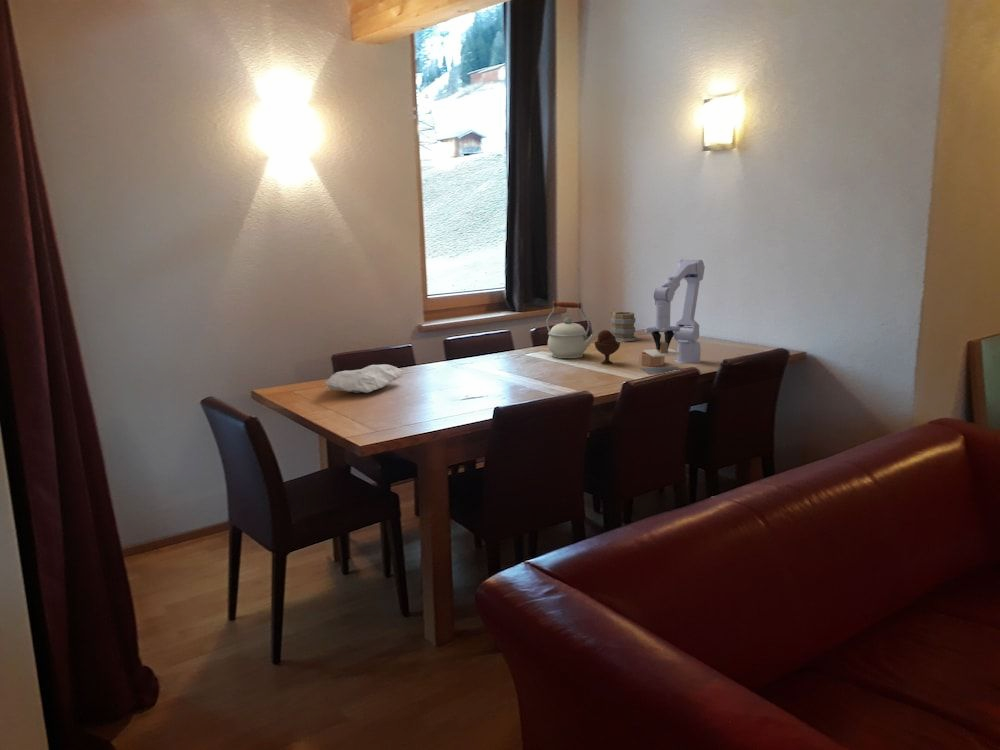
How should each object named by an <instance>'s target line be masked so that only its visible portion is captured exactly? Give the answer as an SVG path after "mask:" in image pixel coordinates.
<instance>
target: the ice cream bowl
mask: <svg viewBox="0 0 1000 750" xmlns="http://www.w3.org/2000/svg"><path fill="white" fill-rule="evenodd" d="M594 346H595V349H596V350H597V351H598V352H599V353H601V354H602V355H604V360H602V361H601V362H600V365H601V364H602V365H612V364H614V362H612V361H611V360H610V355H613V354H614V353H615V352H617V351H618V350H619V349H620V346H621V342H618V341H616V338H615V336H614V335H612V332H611V330H610V331H609V329H607V330H606V329H603V330H601V331H600V332H599V333H598V334H597V341H595V342H594Z"/></svg>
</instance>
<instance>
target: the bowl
mask: <svg viewBox="0 0 1000 750" xmlns="http://www.w3.org/2000/svg"><path fill="white" fill-rule="evenodd" d="M665 357H666V356H659V357H653V356H651V355H649V354H647V353H645V352H644V351H643V350H642V351H641V352H638V363H639V365H640V366H644V367H661V366H664V365H665Z"/></svg>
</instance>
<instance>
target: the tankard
mask: <svg viewBox="0 0 1000 750" xmlns="http://www.w3.org/2000/svg"><path fill="white" fill-rule="evenodd" d="M609 312H610V314H612V317H611V318H610V323H611V328H610V332H611V333H612V335H614V336H615V338H616V341H622V342H621V343H623V342H624V343H628V342H627V341H633V342H635V340H636V341H637V336H635V333H636V327H635V323H636V317H635V313H634V312H631V311H616V310H615V308H611V309H610V310H609Z"/></svg>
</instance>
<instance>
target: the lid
mask: <svg viewBox="0 0 1000 750" xmlns="http://www.w3.org/2000/svg"><path fill="white" fill-rule="evenodd" d="M643 351H644V352H645V353H647V354H649V355H651V356H653V357H659V356H665V357H675V356H676V357H677V356H678V355H682V354H681V353H679V352H677V350H674V349H672V348H668V343H667V342H665V340H660V350H657V349H656V348H654V349H643V350H642V352H643Z"/></svg>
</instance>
